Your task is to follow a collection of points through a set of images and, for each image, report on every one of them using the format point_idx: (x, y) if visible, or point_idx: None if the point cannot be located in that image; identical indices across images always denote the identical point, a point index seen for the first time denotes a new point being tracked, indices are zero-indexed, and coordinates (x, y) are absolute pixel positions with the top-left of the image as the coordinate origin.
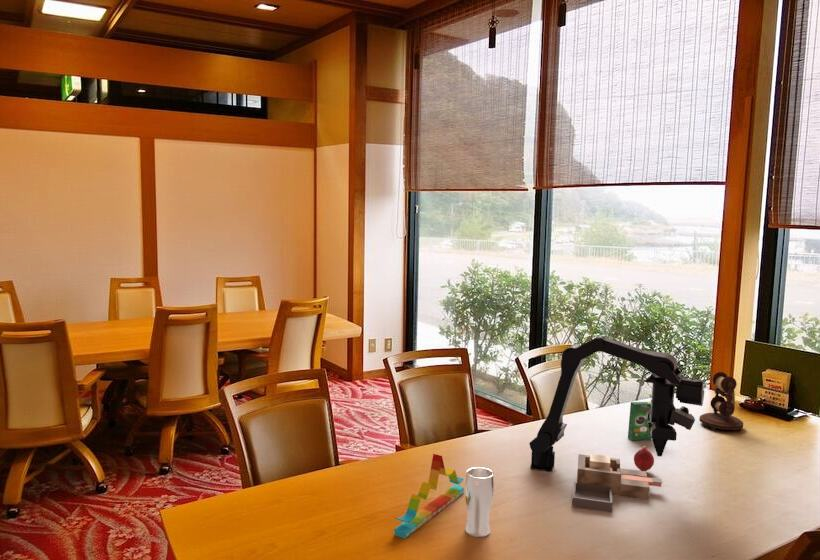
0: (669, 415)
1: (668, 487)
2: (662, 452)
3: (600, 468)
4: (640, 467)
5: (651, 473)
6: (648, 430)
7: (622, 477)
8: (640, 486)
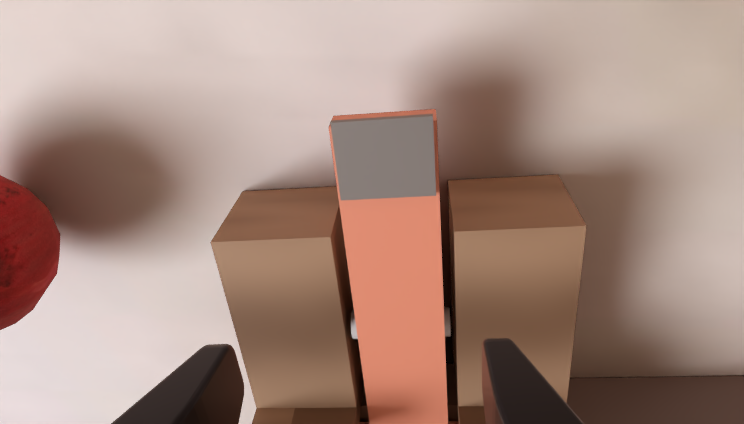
0: None
1: (225, 13)
2: (562, 401)
3: None
4: (59, 251)
5: (14, 145)
6: None
7: (425, 391)
8: (578, 288)
